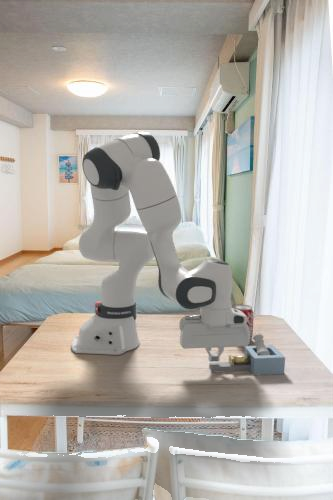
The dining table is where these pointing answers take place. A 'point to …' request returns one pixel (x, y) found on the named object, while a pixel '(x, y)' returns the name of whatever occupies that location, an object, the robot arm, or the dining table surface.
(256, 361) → the mount
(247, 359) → the lock pin
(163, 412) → the dining table surface
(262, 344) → the rook chess piece
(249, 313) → the soda can
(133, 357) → the dining table surface
